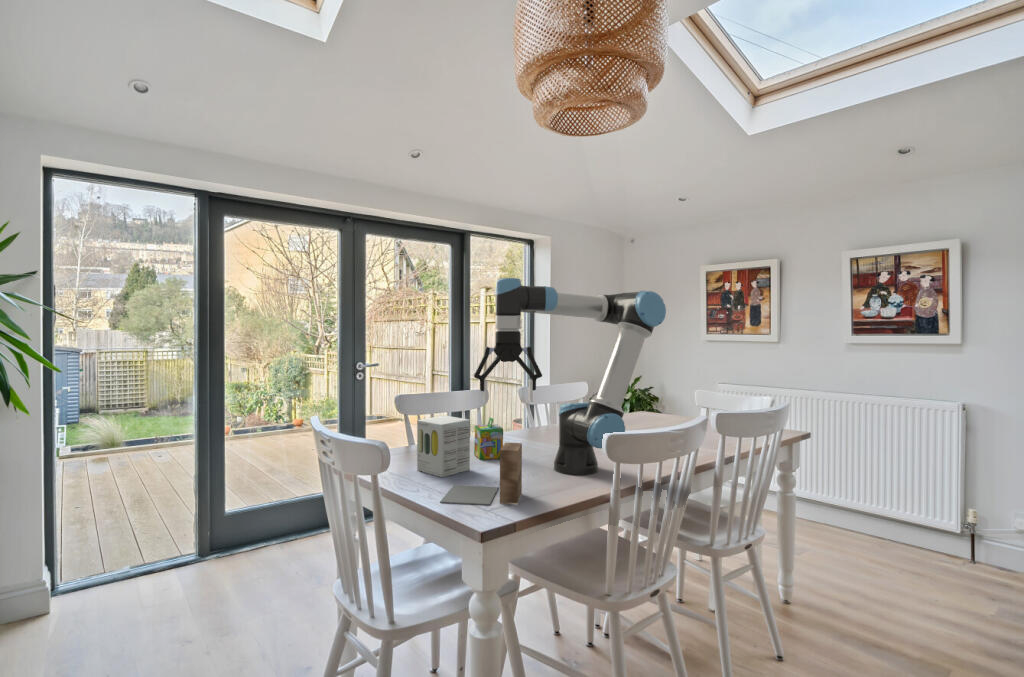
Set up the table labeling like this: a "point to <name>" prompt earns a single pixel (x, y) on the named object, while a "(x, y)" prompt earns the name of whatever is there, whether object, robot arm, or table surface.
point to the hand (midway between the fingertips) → (508, 401)
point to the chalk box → (488, 441)
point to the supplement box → (443, 445)
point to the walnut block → (510, 473)
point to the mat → (470, 495)
